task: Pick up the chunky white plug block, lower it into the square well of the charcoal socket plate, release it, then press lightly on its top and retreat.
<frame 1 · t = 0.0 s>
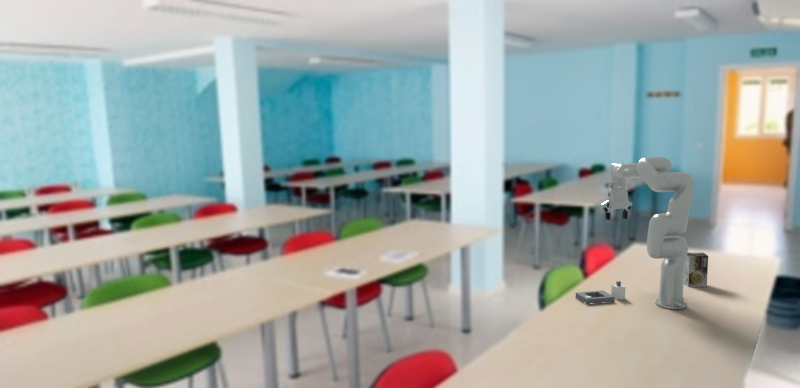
hand: (616, 219, 296), 31 cm above the table, tool pointing down, fingers open, 9 cm apart
socket plate: (594, 299, 265), on the table
plug: (618, 298, 267), on the table
coffee box: (694, 285, 285), on the table
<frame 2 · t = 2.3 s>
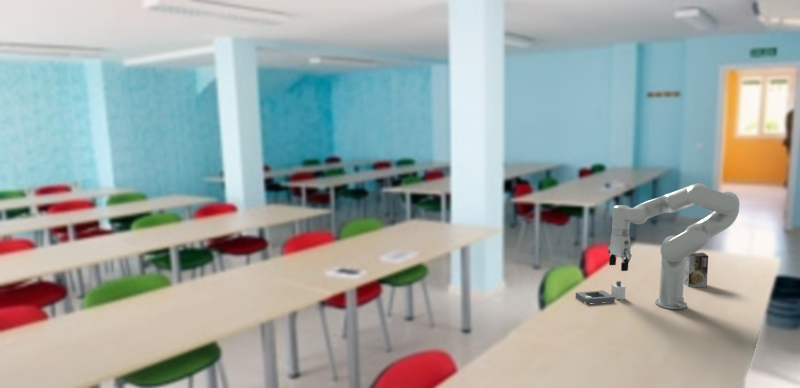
hand: (618, 267, 265), 14 cm above the table, tool pointing down, fingers open, 9 cm apart
nothing on the table moved.
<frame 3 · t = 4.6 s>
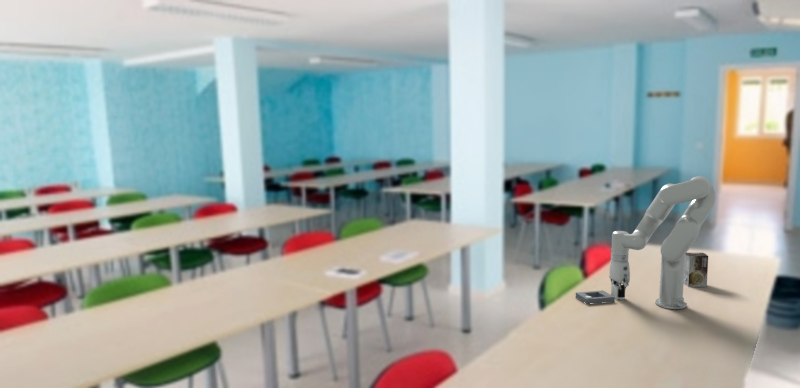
hand: (618, 295, 267), 1 cm above the table, tool pointing down, fingers closed on plug, 4 cm apart
plug: (617, 297, 267), on the table, touching gripper
everything else where it was.
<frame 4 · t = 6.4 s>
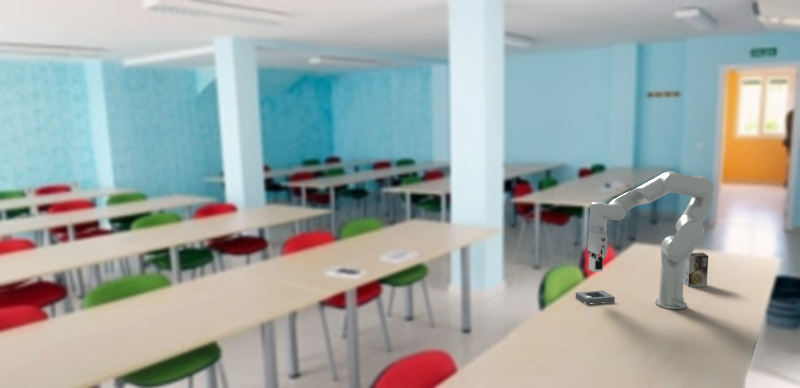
hand: (595, 267, 263), 16 cm above the table, tool pointing down, fingers closed on plug, 4 cm apart
plug: (595, 270, 263), point 14 cm above the table, touching gripper
everything else where it was.
when the fingers open (4 cm above the table, at t = 8.6 s): plug drops 2 cm, resting on socket plate.
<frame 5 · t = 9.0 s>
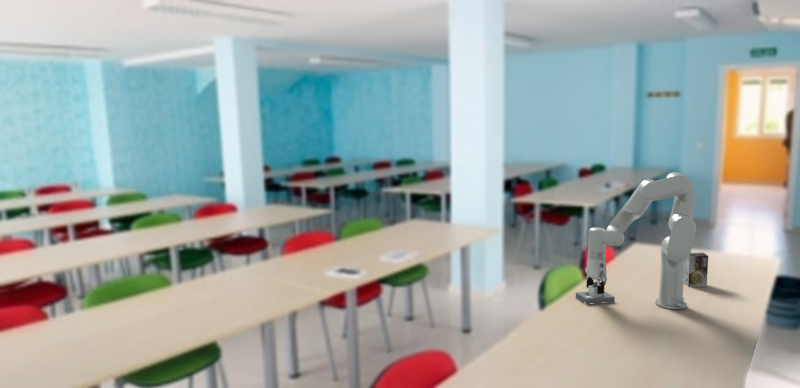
hand: (595, 290, 264), 5 cm above the table, tool pointing down, fingers open, 9 cm apart
plug: (594, 299, 265), resting on socket plate
everything else where it was.
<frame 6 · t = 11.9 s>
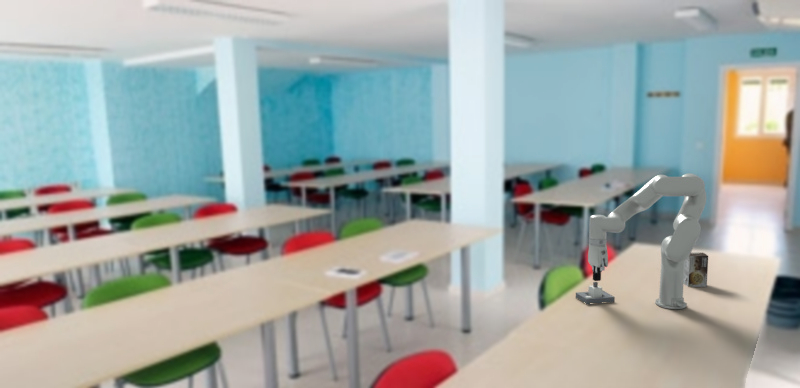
hand: (596, 280, 264), 9 cm above the table, tool pointing down, fingers closed
nothing on the table moved.
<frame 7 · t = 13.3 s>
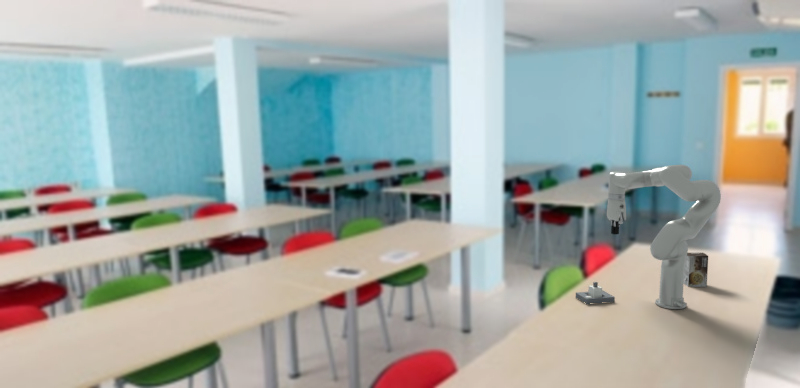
hand: (614, 233, 280), 27 cm above the table, tool pointing down, fingers closed
nothing on the table moved.
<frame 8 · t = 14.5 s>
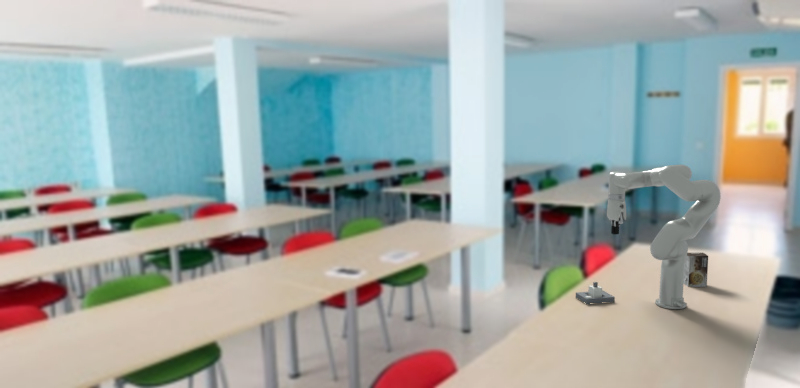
hand: (615, 233, 280), 27 cm above the table, tool pointing down, fingers closed
nothing on the table moved.
at the end: plug 0.0 cm off-centre on the socket plate, point 0.4 cm above the socket plate's base; plug tilted 0°; the gripper is holding nothing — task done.
